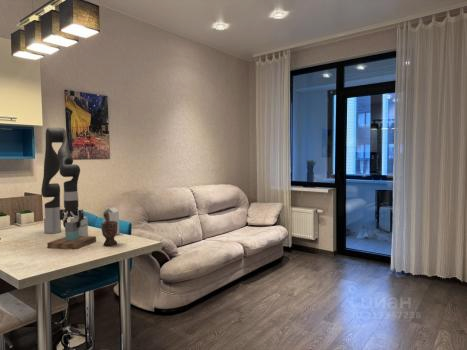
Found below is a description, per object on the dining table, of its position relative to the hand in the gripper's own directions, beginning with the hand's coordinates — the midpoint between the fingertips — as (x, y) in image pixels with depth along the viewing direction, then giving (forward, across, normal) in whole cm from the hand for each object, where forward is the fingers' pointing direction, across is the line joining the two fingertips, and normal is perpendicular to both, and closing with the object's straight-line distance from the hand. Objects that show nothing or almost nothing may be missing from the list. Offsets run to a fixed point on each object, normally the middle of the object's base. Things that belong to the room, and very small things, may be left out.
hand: (72, 227), depth 190 cm
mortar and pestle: (+10, +23, +2) cm, 25 cm away
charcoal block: (+2, 0, 0) cm, 2 cm away
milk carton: (+10, +8, +27) cm, 30 cm away
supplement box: (+10, -9, +18) cm, 23 cm away
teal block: (+7, 0, 0) cm, 7 cm away
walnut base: (+10, 0, 0) cm, 10 cm away
